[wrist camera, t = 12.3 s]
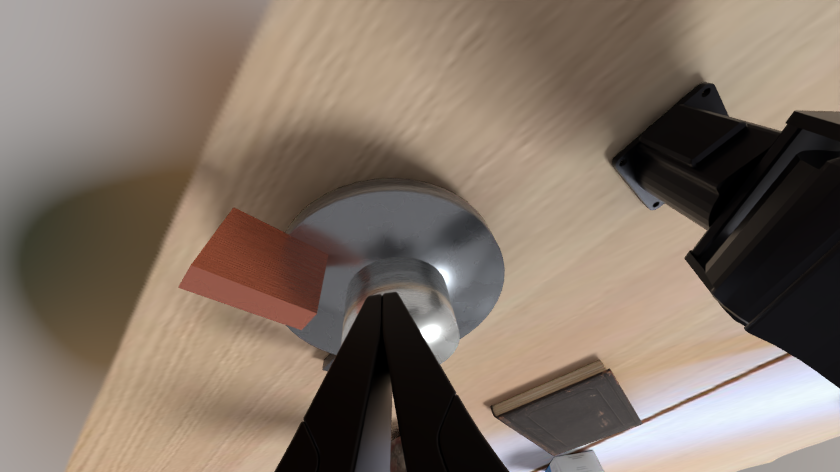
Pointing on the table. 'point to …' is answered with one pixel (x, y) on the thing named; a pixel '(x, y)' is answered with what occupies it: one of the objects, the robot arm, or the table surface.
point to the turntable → (349, 256)
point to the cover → (408, 299)
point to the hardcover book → (570, 410)
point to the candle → (397, 456)
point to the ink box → (576, 463)
